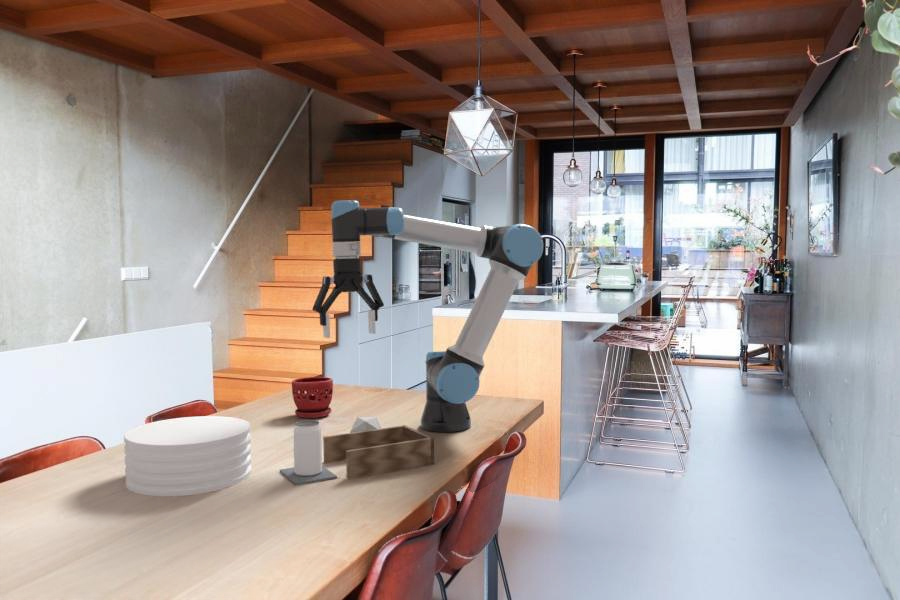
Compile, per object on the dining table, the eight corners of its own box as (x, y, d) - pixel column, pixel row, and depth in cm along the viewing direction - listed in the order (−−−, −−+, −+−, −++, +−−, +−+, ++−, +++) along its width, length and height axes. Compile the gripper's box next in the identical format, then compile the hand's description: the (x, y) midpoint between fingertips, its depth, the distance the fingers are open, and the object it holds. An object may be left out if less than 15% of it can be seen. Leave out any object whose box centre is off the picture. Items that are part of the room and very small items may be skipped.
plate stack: (130, 504, 153) (128, 451, 153) (121, 470, 178) (120, 424, 177) (263, 484, 166) (262, 435, 166) (238, 454, 191) (237, 411, 190)
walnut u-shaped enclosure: (405, 449, 195) (404, 425, 194) (434, 463, 181) (434, 438, 180) (323, 462, 183) (323, 436, 183) (348, 479, 169) (347, 451, 169)
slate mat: (318, 465, 180) (318, 463, 180) (337, 478, 170) (337, 476, 170) (279, 471, 175) (279, 469, 175) (295, 485, 165) (295, 483, 165)
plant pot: (341, 413, 238) (341, 377, 237) (313, 421, 227) (313, 383, 226) (312, 409, 245) (311, 374, 244) (283, 416, 234) (283, 380, 233)
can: (296, 469, 176) (295, 420, 175) (323, 468, 176) (322, 419, 175) (292, 477, 169) (291, 426, 168) (320, 476, 170) (319, 425, 169)
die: (369, 456, 190) (389, 423, 193) (340, 438, 192) (361, 406, 194) (372, 459, 198) (391, 427, 201) (344, 442, 200) (364, 410, 202)
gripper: (308, 259, 187) (312, 340, 189) (394, 256, 201) (396, 332, 202) (298, 259, 194) (301, 338, 195) (381, 256, 207) (384, 330, 209)
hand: (349, 335), depth 199 cm, fingers open, 13 cm apart
